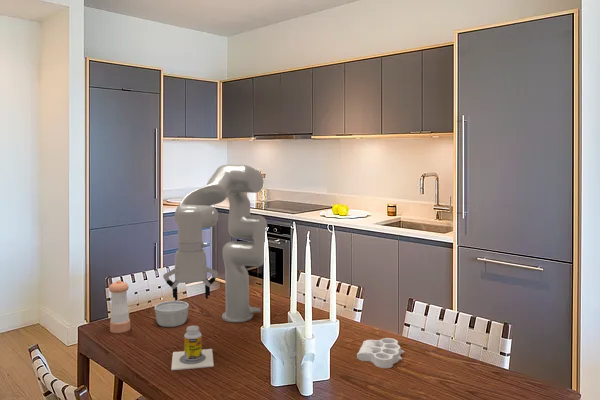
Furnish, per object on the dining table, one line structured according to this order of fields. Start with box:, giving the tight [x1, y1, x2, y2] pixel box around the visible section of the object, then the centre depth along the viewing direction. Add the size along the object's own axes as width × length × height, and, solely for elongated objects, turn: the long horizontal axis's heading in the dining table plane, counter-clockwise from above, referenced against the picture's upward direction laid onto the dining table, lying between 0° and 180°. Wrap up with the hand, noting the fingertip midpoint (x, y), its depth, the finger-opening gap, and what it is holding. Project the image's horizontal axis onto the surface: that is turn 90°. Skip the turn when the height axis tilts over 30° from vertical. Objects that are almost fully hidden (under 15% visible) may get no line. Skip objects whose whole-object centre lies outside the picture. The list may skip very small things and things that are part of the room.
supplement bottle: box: [183, 325, 203, 361], centre depth 156 cm, size 6×6×10 cm
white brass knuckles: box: [356, 337, 405, 369], centre depth 160 cm, size 3×18×15 cm
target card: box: [170, 348, 215, 371], centre depth 157 cm, size 13×13×1 cm
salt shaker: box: [108, 280, 131, 334], centre depth 182 cm, size 7×7×19 cm
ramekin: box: [154, 300, 190, 328], centre depth 191 cm, size 13×13×7 cm
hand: (191, 298), depth 155 cm, fingers open, 9 cm apart
